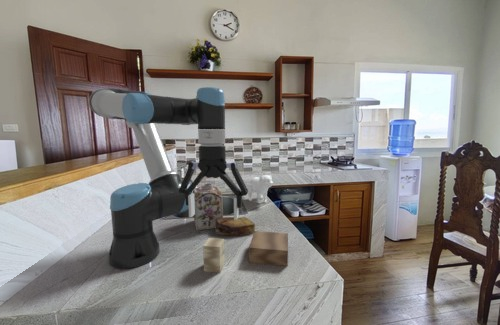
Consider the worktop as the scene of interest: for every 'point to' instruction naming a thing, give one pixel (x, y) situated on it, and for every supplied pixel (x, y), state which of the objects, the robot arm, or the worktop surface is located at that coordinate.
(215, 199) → the decorative jar
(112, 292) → the worktop surface
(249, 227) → the stone
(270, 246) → the plinth
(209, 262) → the oak block
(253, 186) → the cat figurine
